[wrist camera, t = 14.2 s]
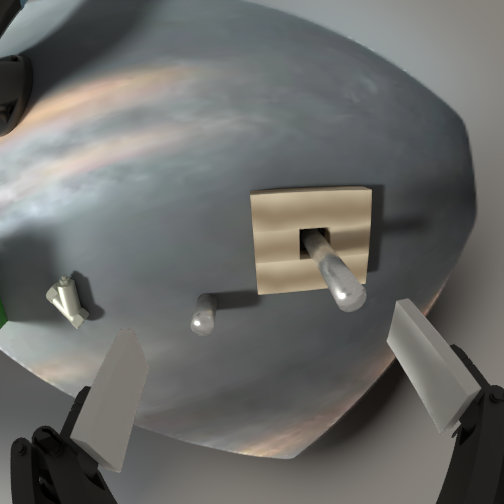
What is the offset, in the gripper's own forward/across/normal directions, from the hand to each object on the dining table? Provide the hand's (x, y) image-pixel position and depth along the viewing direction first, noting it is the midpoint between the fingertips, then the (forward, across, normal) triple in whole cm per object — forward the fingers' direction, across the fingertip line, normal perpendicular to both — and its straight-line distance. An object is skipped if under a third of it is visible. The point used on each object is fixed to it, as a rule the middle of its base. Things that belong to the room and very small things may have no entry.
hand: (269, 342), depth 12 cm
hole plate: (+24, +8, -4) cm, 25 cm away
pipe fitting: (+23, -28, -8) cm, 37 cm away
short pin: (+24, -8, -13) cm, 28 cm away
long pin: (+24, +8, -4) cm, 25 cm away
